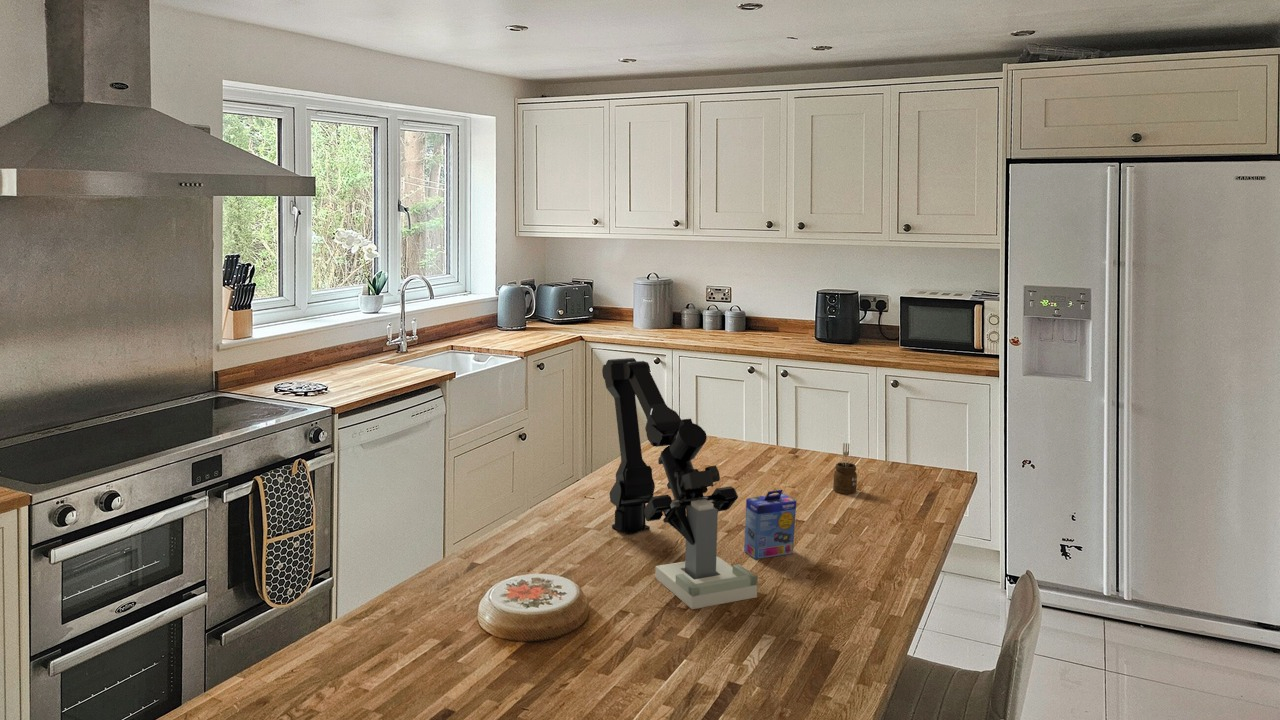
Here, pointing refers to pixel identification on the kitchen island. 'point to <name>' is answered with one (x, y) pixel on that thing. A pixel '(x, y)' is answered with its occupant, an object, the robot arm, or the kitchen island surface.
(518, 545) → the kitchen island surface
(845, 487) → the utensil holder
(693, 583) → the socket box
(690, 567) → the plug
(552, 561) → the kitchen island surface
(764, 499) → the ink cartridge box
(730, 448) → the kitchen island surface
